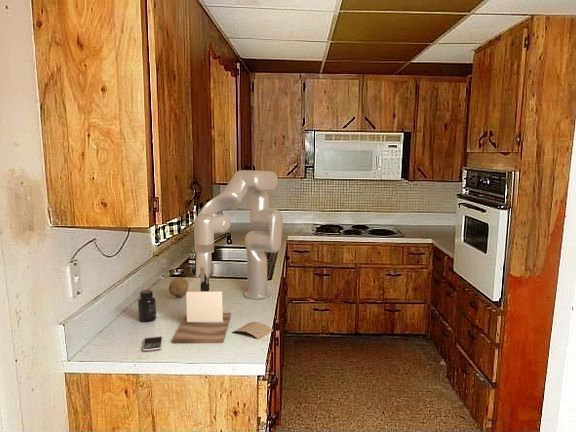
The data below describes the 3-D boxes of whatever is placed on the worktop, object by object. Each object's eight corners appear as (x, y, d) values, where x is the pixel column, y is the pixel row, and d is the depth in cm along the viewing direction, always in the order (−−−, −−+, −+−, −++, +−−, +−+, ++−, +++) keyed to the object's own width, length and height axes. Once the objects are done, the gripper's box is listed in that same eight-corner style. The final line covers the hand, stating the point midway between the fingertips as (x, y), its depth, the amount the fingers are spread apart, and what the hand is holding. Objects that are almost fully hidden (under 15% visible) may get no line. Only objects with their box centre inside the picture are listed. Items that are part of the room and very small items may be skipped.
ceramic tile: (186, 291, 169) (185, 291, 168) (223, 291, 169) (222, 291, 168) (187, 322, 170) (186, 323, 169) (223, 322, 171) (223, 323, 170)
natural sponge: (178, 303, 197) (177, 282, 196) (164, 299, 202) (164, 278, 201) (192, 297, 205) (192, 277, 203) (179, 294, 210) (179, 274, 208)
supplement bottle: (155, 315, 182) (154, 288, 180) (156, 321, 175) (155, 293, 174) (138, 317, 180) (137, 289, 178) (138, 323, 173) (137, 295, 171)
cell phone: (142, 353, 148) (142, 350, 148) (145, 340, 159) (145, 336, 158) (161, 352, 149) (161, 348, 149) (162, 338, 160) (162, 335, 160)
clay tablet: (275, 332, 167) (275, 325, 166) (261, 342, 158) (261, 335, 157) (244, 325, 173) (244, 318, 173) (229, 334, 165) (229, 327, 164)
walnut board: (188, 316, 181) (187, 313, 181) (230, 316, 181) (230, 312, 181) (173, 343, 155) (173, 339, 155) (223, 343, 156) (223, 339, 155)
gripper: (198, 244, 176) (198, 287, 178) (190, 251, 161) (191, 299, 163) (216, 244, 176) (217, 287, 178) (211, 252, 161) (211, 299, 164)
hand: (205, 293), depth 171 cm, fingers closed
